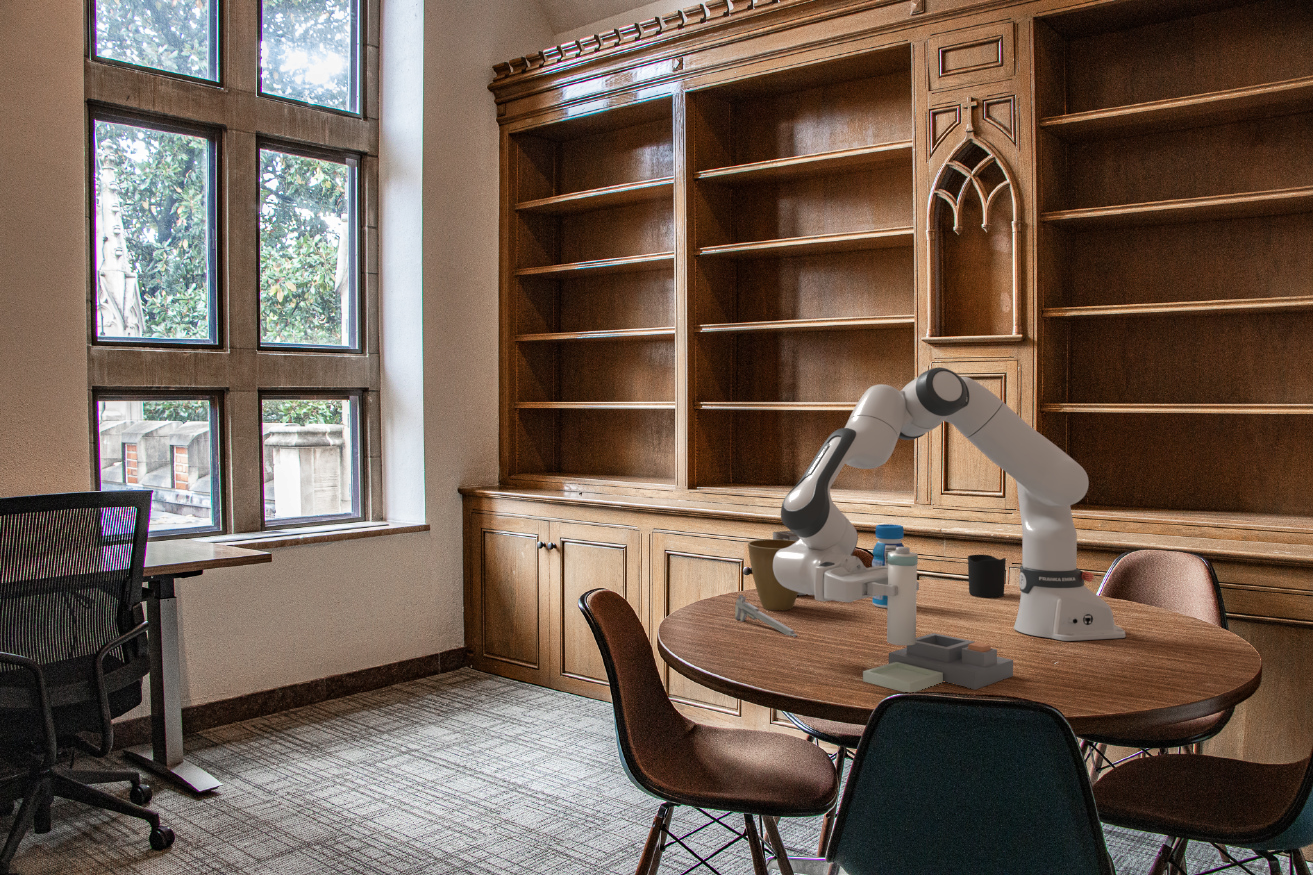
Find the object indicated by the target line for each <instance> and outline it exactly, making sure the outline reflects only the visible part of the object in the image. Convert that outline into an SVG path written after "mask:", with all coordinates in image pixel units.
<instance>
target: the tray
mask: <svg viewBox="0 0 1313 875" xmlns="http://www.w3.org/2000/svg"><path fill="white" fill-rule="evenodd" d="M862 682H864V683H869V684H871V685H872V684H873V685H876V686H879V687H883V688H887V689H891V690H894V691H898V692H902V693H905V692H914V693H917V692H920V691H923V690H925V688H926V689H929V688H931V687H930V686H932V687H935V686H937V685H936V684H938V683H941V684H943V683H944V682H943V673H941V672H937V671H933V670H929V669H925V668H920V667H916V666H912V665H908V664H904V663H899V662H893V663H890V664H889V663H886V664H884V665H883V664H882V665H880V666H877V667H876V666H875V667H873V668H870V669H867V670H863V671H862ZM942 682H943V683H942ZM934 685H935V686H934ZM938 685H939V684H938ZM928 687H929V688H928ZM922 689H923V690H922Z"/></svg>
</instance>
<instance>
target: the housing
mask: <svg viewBox="0 0 1313 875" xmlns="http://www.w3.org/2000/svg"><path fill="white" fill-rule="evenodd" d="M975 642H976V641H974V640H969V639H965V638H964V639H963V638H959V637H955V636H950V635H945V634H940V633H935V632H933V633H929V634H925V635H922V636H918V637H916V643H915V644H914V645H906V647H904V648H902V649H896V650H894V651H890V652H888V664H890V663H893V662H899V663H904V664H908V665H912V666H916V667H920V668H925V669H929V670H933V671H937V672H941V673H943V681H945V682H948V683H947V684H949V683H954V684H957V685H961V686H965V687H967V689H970V688H971V689H970V690H974V691H977V690H978V689H981V688H984V687H986V686H989V685H992V684H995V683H997V682H1000V681H1003V679H1004V680H1006V679H1009V678H1011V677H1013V676H1014V659H1012V658H1011V659H1010V658H1007V657H1006V658H1005V657H1001V656H998V649H996V648H992V647H991V650H989V651H986V652H978V651H974V650H969V649H968V644H971V643H975ZM945 682H944V683H945ZM957 685H956V686H957ZM961 686H960V687H961ZM965 687H964V688H965Z"/></svg>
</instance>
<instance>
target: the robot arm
mask: <svg viewBox="0 0 1313 875" xmlns="http://www.w3.org/2000/svg"><path fill="white" fill-rule="evenodd" d="M943 422H947V423H950V424H951V425H952V426H954V428H955V429H956V430H958V432H960V434H961V435H963V436H964V437H965V438H966V439H967V440H968V441H969V442H970V444H972V445H973V446H974V447H975V448H977V449H978V450H979V451H980V452H981V453H982V454H983V455H984V456H985V457H987V459H988V460H990V461H991V462H992V463H993V464H995V465H996V466H997V467H999V468H1000V469H1001V470H1003V471H1004V472H1006V473H1007V474H1008V475H1009V476H1010V477H1012V478H1013V479H1014V480H1015V484H1016V490H1017V498H1018V499H1017V500H1018V508H1019V514H1020V520H1021V529H1022V532H1021V533H1022V535H1021V536H1022V537H1021V538H1022V539H1021V540H1022V545H1021V546H1022V554H1021V555H1022V558H1021V560H1022V561H1021V565H1020V566H1019V567H1020V568H1019V579H1018V580H1019V582H1018V583H1019V591H1020V598H1019V599H1020V600H1019V605H1018V611H1017V615H1016V618H1015V619H1016V620H1015V623H1014V626H1013V630H1015V631H1016V632H1019V633H1021V634H1025V635H1029V636H1035V637H1042V638H1047V639H1054V640H1058V641H1063V642H1071V641H1073V642H1074V641H1075V642H1076V641H1088V640H1089V641H1091V640H1093V641H1094V640H1107V639H1108V640H1109V639H1124V638H1126V630H1125V629H1123V628H1122V627H1121V626H1118V625H1116V624H1115V621H1114V615H1113V610H1112V607H1111V606H1110V605H1109V603H1107V602H1106V601H1105V600H1104V599H1102V598H1101V597H1100V596H1098V595H1097V594H1096V593H1095V592H1093V591H1092V590H1091V589H1089V588H1088V587H1087V586H1085V581H1086V582H1088V583H1091V582H1093V580H1095V576H1094V574H1093V573H1092V572H1090V571H1083V570H1081V569H1079V568H1078V567H1077V562H1078V561H1077V554H1078V553H1077V552H1078V551H1077V550H1078V548H1077V547H1078V545H1077V544H1078V541H1077V540H1078V539H1077V537H1078V535H1077V534H1078V533H1077V530H1076V527H1075V524H1074V520H1073V514H1072V508H1071V506H1072V505H1074V504H1077V503H1078V502H1080V501H1081V500H1082V499H1083V498H1085V496H1086V494H1087V492H1088V490H1089V485H1090V484H1089V477H1088V474H1087V471H1086V470H1085V469H1084V468H1083V466H1081V465H1080V464H1079V463H1078V462H1077V461H1076V460H1075V459H1074V458H1072V457H1071V456H1070V455H1068V453H1066V452H1065V451H1063V449H1061V448H1060V447H1058V446H1057V445H1056V444H1055V443H1053V442H1052V441H1051V440H1049V439H1048V438H1047V437H1045V435H1042V434H1041V433H1040V432H1038V431H1037V430H1036V429H1035V428H1033V427H1032V426H1031V425H1030V424H1028V423H1027V422H1026V421H1025V420H1024V419H1023V418H1021V417H1020V416H1019V415H1018V414H1017V413H1016V412H1015V411H1014V410H1013V409H1011V408H1010V407H1009V406H1008V405H1007V404H1006V403H1005V402H1004V401H1002V400H1001V399H1000V398H999V397H998V396H997V395H996V394H994V393H993V392H992V391H991V390H990V389H988V388H986V387H985V386H983V385H982V384H980V383H979V382H978V381H975V380H974V379H973V378H970V377H968V376H960V375H959V374H957V373H956V372H955V371H953V370H951V369H948V368H945V367H934V368H930V369H928V370H925V371H924V372H922V373H921V374H920V375H919V376H917V377H915V379H912V380H910V382H908V383H907V384H906V385H904V387H903V388H902V389H901V390H899V389H897V388H895V387H893V386H892V385H888V384H881V383H880V384H875V385H871V386H870V387H869V388H867V389H866V390H865V391H864V393H863V394H862V396H861V397H860V399H859V400H858V401H857V403H856V405H855V406H854V408H853V410H852V412H851V414H850V416H849V418H848V420H847V421H846V424H845V426H844V427H843V428H838V429H836V430H834V431H833V432H832V433H831V434H830V435H829V436H828V437H827V439H825V441H824V443H823V444H822V445H821V447H820V449H819V450H818V451H817V453H816V455H815V456H814V457H813V459H812V461H811V463H810V464H809V465H808V467H807V469H806V470H805V472H803V475H802V476H801V478H800V480H799V481H798V482H797V483H796V484H795V486H793V488H792V489H790V491H789V492H788V493H787V494H786V496H785V498H784V499H783V501H782V504H781V507H780V508H781V509H780V519H781V522H782V524H783V525H784V527H786V528H787V529H788V531H792V532H793V533H794V534H795V535H797V536H798V537H799V538H800V539H799V540H798V541H797V542H795V543H794V544H793V545H791V546H789V547H787V548H783V549H780V550H779V551H777V553H776V554H775V556H774V559H773V571H774V575H775V577H776V579H777V581H778V582H779V583H780V584H781V585H782V586H784V587H785V588H788V589H790V590H793V591H796V592H800V593H804V594H808V595H809V596H814V599H815V600H816V601H819V602H830V601H836V602H844V603H853V602H854V601H858V600H859V601H860V600H863V599H868V598H873V596H878V595H886V596H891V597H892V596H896V595H898V587H897V586H896V585H888V566H875V567H872V566H870V567H866V566H865V565H864V563H863V562H862V560H861V559H860V558H859V557H858V556H855V555H853V554H854V552H855V550H856V547H857V545H858V542H859V541H858V539H859V536H858V535H859V534H858V531H857V529H856V527H855V526H854V525H853V524H852V522H851V521H850V520H849V519H848V518H847V516H846V515H845V514H844V513H843V512H842V511H841V510H840V509H839V508H838V506H836V504H835V502H834V501H833V500H832V497H831V487H832V485H833V484H834V482H835V480H837V477H838V476H839V474H840V473H841V471H842V469H843V467H844V466H845V464H846V465H847V466H849V467H852V468H856V469H861V470H873V469H877V468H879V467H880V466H881V467H882V466H883V465H885V464H886V463H887V461H888V460H889V459H890V457H891V456H892V454H893V452H894V450H895V447H896V445H897V442H898V440H899V439H900V440H903V441H911V440H917V439H919V438H921V437H923V436H924V435H926V434H927V433H929V432H931V431H932V430H934V429H936V428H938V427H939V426H940V425H941V424H942V423H943ZM919 582H920V581H918V580H917V592H918V591H919V590H920V583H919Z"/></svg>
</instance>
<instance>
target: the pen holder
mask: <svg viewBox="0 0 1313 875" xmlns="http://www.w3.org/2000/svg"><path fill="white" fill-rule="evenodd" d="M1006 560H1007V559H1006V557H1003V558H1001V559H999V558H997V557H995V556H992V555H989V554H971V555H968V556H967V568H968V569H967V570H968V572H967V573H968V593H969V594H970V596H972V597H976V598H983V599H996V598H997V599H998V598H1002V597H1003V596H1004V595H1005V585H1006V584H1005V583H1006V582H1005V581H1006V580H1005V579H1006Z"/></svg>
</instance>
